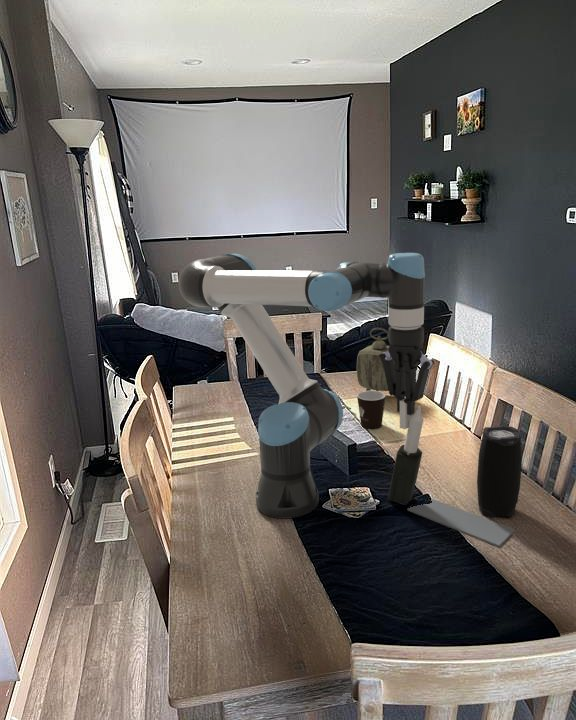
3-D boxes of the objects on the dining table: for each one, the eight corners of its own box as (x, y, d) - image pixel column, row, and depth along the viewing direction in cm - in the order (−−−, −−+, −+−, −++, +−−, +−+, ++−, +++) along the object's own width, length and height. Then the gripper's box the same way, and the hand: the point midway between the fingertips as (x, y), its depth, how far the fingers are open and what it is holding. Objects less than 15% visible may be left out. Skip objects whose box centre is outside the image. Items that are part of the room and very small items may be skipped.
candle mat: (499, 547, 120) (499, 545, 120) (407, 510, 135) (407, 508, 135) (514, 531, 125) (514, 529, 125) (424, 497, 140) (424, 496, 140)
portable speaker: (468, 510, 134) (471, 431, 129) (492, 496, 139) (497, 420, 134) (501, 526, 127) (506, 443, 122) (525, 511, 133) (531, 431, 127)
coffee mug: (387, 430, 179) (387, 399, 176) (358, 431, 179) (358, 400, 177) (382, 416, 190) (382, 387, 187) (355, 417, 190) (355, 388, 188)
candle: (386, 499, 139) (405, 406, 129) (393, 488, 143) (412, 397, 133) (407, 507, 137) (427, 413, 127) (413, 496, 141) (434, 404, 131)
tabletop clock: (403, 396, 207) (403, 327, 200) (393, 404, 200) (393, 333, 193) (365, 390, 215) (365, 323, 207) (354, 398, 207) (353, 329, 200)
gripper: (442, 325, 125) (439, 428, 132) (390, 319, 134) (391, 415, 141) (423, 333, 120) (421, 439, 127) (371, 325, 129) (372, 425, 136)
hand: (405, 426), depth 134 cm, fingers closed
